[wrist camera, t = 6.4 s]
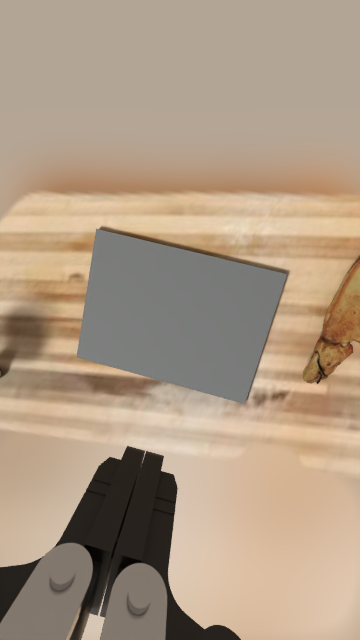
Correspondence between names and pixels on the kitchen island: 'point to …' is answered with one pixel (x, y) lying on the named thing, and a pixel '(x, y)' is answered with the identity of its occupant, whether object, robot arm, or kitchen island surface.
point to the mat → (177, 314)
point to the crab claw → (337, 329)
